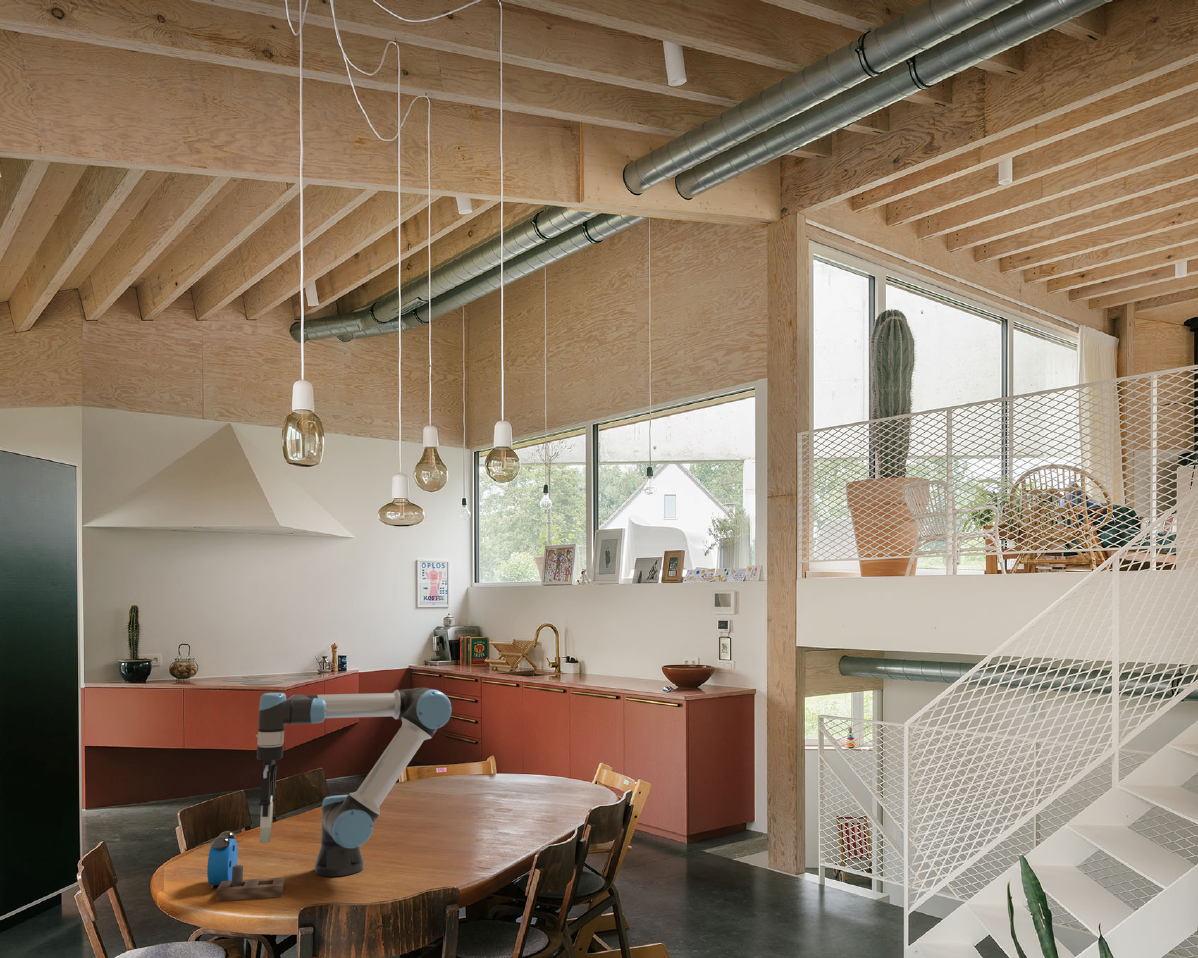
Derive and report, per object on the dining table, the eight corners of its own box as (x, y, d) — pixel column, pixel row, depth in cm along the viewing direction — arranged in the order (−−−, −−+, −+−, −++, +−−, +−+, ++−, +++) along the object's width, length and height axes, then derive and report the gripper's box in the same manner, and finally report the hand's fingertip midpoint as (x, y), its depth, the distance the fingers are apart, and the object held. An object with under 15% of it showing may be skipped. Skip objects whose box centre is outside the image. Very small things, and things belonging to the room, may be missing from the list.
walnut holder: (284, 887, 287) (285, 859, 288) (281, 896, 278) (282, 867, 279) (221, 891, 283) (222, 863, 284) (215, 900, 274) (216, 871, 275)
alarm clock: (217, 878, 296) (219, 828, 298) (237, 877, 297) (239, 827, 299) (205, 891, 283) (208, 839, 285) (227, 890, 284) (229, 838, 286)
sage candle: (260, 840, 285) (263, 795, 287) (271, 839, 285) (273, 795, 287) (258, 842, 282) (261, 797, 284) (269, 842, 283) (271, 797, 284)
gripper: (262, 741, 295) (258, 820, 292) (252, 749, 279) (247, 832, 276) (287, 741, 296) (283, 820, 293) (278, 749, 280) (274, 832, 277)
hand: (266, 826), depth 284 cm, fingers closed on sage candle, 3 cm apart
